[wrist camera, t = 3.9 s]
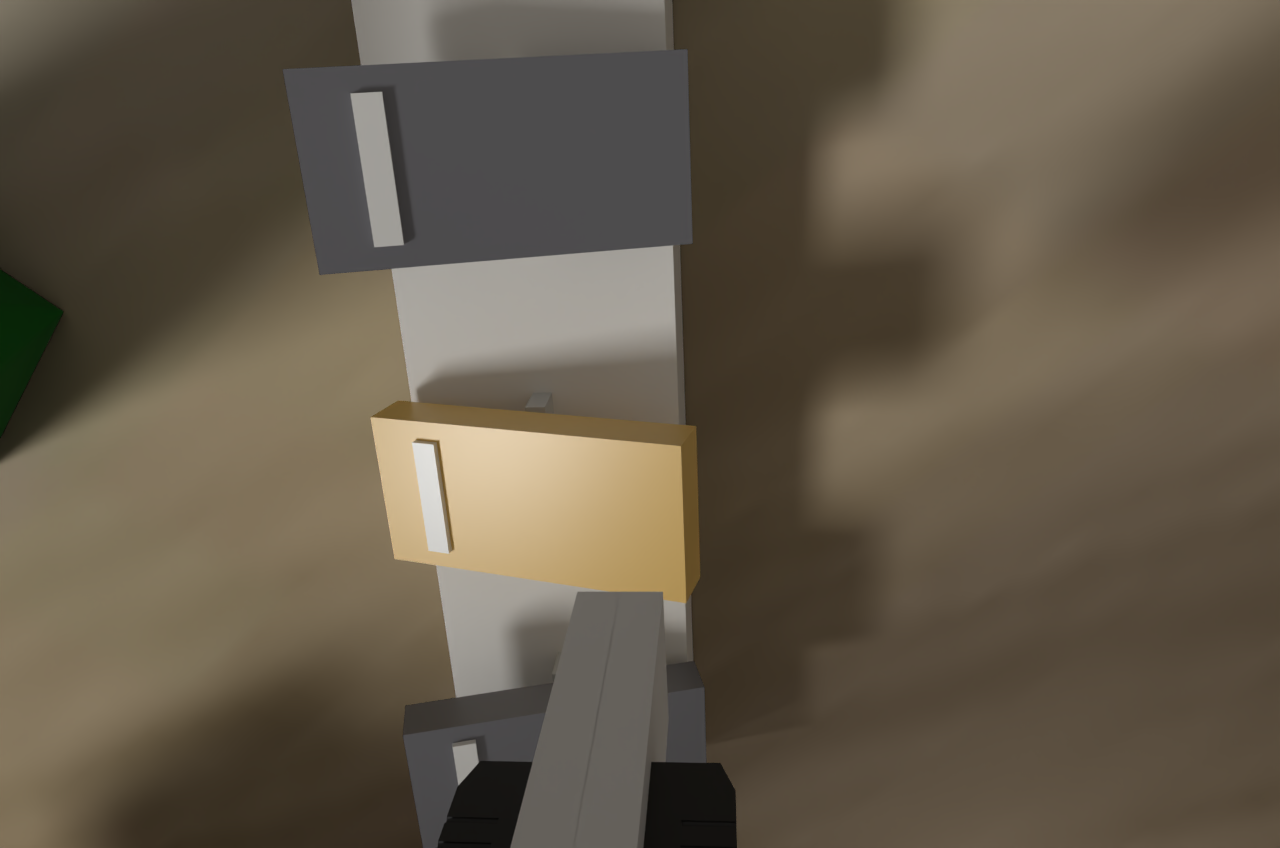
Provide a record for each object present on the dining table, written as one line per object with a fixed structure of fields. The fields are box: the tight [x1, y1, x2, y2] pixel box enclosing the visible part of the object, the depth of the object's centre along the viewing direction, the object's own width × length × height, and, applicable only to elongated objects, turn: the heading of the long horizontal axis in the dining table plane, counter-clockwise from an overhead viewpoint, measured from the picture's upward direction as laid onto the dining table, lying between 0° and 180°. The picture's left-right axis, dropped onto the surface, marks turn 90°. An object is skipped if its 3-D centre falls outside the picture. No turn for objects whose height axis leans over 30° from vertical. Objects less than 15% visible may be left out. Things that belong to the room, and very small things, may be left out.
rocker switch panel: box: [351, 0, 693, 698], centre depth 27 cm, size 7×34×5 cm, turn 3°
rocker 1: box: [283, 49, 693, 275], centre depth 19 cm, size 8×4×1 cm, turn 93°
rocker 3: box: [403, 661, 706, 848], centre depth 25 cm, size 8×4×1 cm, turn 93°
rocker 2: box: [371, 401, 700, 603], centre depth 22 cm, size 8×4×1 cm, turn 93°
